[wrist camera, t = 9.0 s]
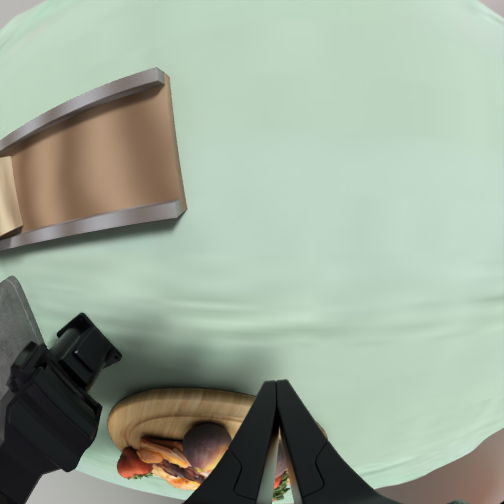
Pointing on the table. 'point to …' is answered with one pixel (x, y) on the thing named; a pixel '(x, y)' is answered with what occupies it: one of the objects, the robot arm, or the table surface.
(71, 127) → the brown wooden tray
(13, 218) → the cream square block
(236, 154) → the table surface
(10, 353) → the flask
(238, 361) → the table surface
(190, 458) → the wooden plate with food
